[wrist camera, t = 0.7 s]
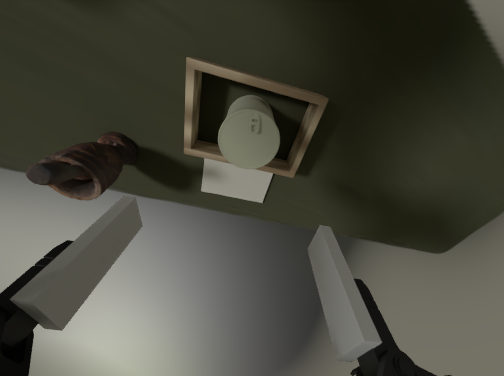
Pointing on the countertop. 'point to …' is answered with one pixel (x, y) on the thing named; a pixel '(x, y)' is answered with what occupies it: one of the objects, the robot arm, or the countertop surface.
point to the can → (249, 133)
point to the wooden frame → (198, 66)
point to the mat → (235, 181)
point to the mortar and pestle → (85, 166)
